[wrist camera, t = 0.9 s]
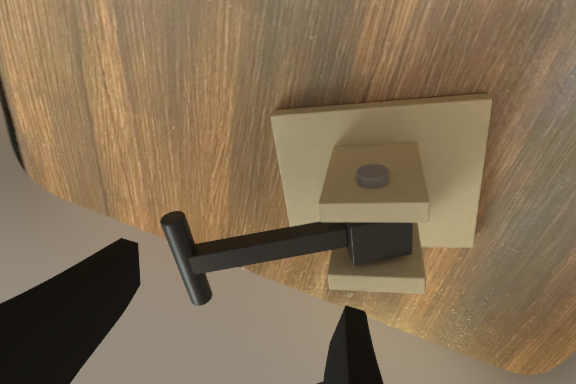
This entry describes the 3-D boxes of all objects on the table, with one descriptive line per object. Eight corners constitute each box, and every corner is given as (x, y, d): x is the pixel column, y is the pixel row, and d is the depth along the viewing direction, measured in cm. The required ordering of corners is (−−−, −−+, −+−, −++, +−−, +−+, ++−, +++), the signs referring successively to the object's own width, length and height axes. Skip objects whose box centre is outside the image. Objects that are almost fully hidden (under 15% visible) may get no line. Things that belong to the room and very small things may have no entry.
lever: (194, 283, 20) (188, 318, 18) (165, 205, 17) (154, 235, 15) (394, 246, 20) (412, 277, 18) (394, 164, 17) (414, 188, 15)
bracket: (295, 235, 25) (271, 313, 20) (273, 109, 21) (234, 163, 15) (470, 238, 22) (500, 330, 17) (488, 92, 18) (537, 151, 12)
